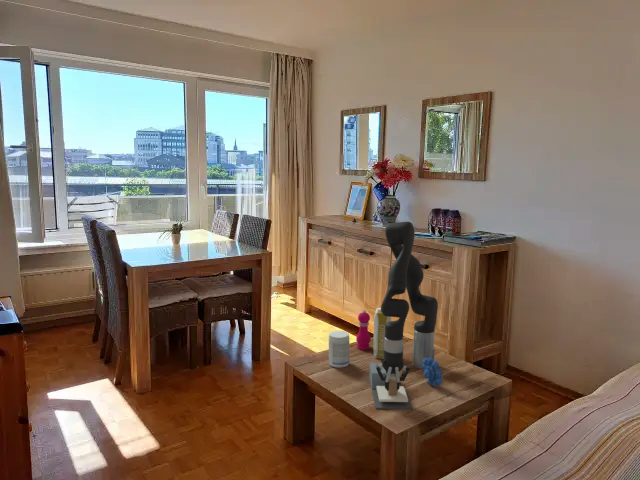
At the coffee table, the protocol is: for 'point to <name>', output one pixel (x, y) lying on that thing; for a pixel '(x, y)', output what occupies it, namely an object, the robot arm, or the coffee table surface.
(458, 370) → the coffee table surface
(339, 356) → the supplement tub
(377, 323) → the juice carton
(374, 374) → the storage box
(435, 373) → the grapes
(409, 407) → the rubber mat
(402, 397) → the lid
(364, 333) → the pepper mill
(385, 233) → the robot arm
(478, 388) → the coffee table surface
